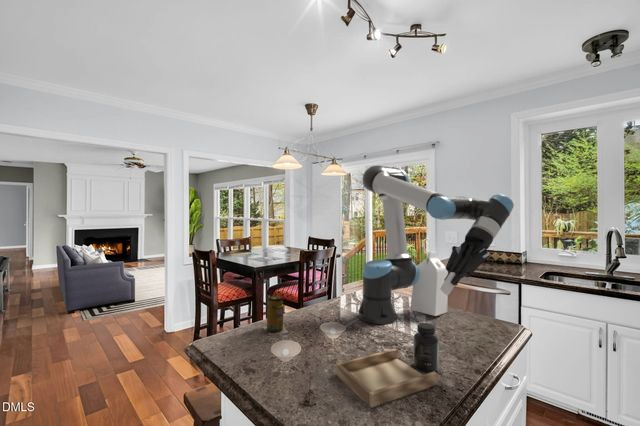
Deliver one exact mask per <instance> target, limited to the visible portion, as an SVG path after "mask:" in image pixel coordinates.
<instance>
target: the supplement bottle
mask: <svg viewBox="0 0 640 426" xmlns="http://www.w3.org/2000/svg"><path fill="white" fill-rule="evenodd" d="M439 341H440V340H439V338H438V336H437V335H436V327H435V325H434V324H431V323H428V322H427V323H426V322H420V323H417V332H416V333H415V334H414V335H413V347H412V349H413V351H412V353H413V354H412V356H413V357H412V359H413V360H412V361H413V362H412V364H413V367H414V368H415V370H417V371H419V372H423V373H426V374H428V373H431V372H436V371H438V369H439V347H440V346H439V345H440V343H439Z"/></svg>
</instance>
